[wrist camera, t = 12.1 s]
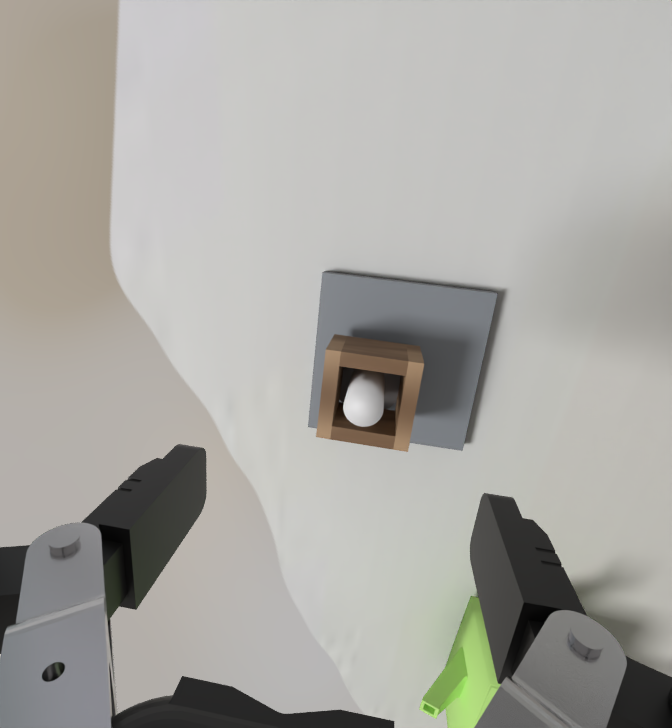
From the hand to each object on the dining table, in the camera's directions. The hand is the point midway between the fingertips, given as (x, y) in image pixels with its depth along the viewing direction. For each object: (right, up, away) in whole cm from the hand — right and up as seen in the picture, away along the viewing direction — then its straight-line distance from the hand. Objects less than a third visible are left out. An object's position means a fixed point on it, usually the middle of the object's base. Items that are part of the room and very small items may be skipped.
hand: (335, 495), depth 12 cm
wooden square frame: (+3, +3, +20) cm, 20 cm away
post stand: (+5, +4, +22) cm, 23 cm away
